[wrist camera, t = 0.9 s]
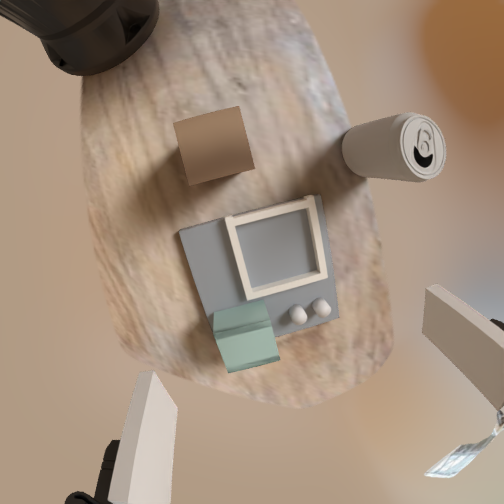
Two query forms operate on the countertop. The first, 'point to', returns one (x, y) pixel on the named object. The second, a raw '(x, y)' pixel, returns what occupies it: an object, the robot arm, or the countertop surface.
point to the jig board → (266, 263)
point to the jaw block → (213, 145)
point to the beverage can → (396, 148)
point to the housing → (245, 336)
